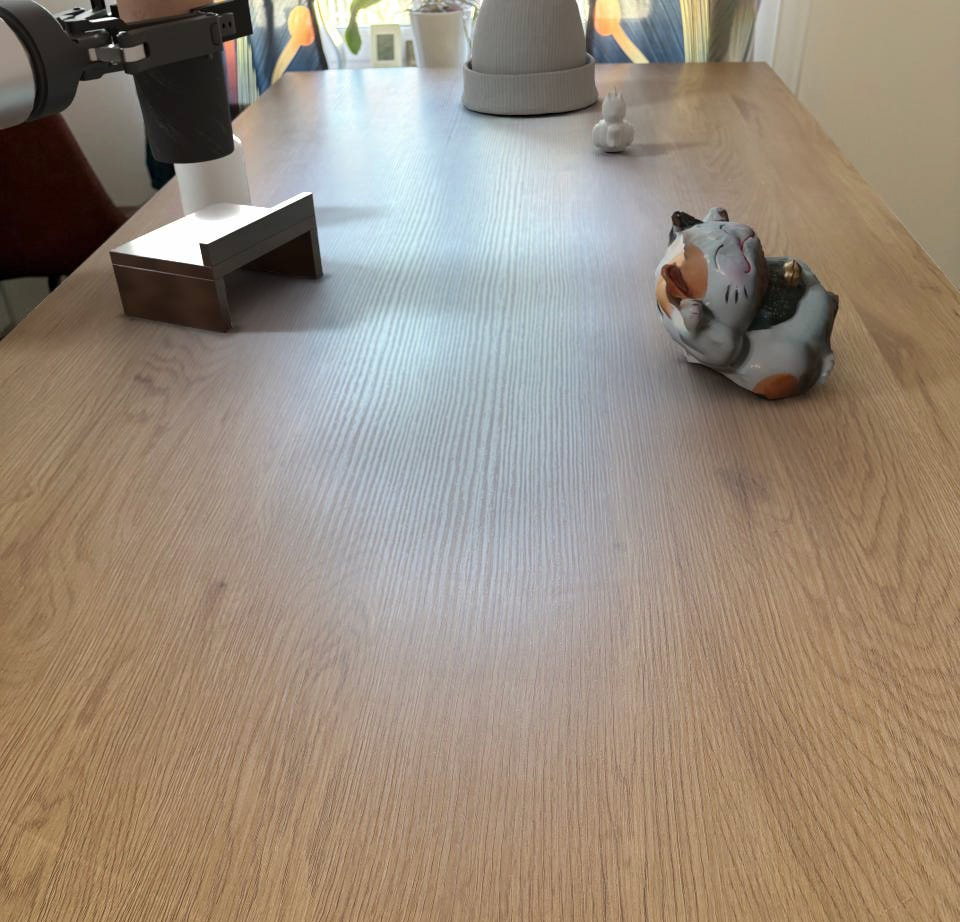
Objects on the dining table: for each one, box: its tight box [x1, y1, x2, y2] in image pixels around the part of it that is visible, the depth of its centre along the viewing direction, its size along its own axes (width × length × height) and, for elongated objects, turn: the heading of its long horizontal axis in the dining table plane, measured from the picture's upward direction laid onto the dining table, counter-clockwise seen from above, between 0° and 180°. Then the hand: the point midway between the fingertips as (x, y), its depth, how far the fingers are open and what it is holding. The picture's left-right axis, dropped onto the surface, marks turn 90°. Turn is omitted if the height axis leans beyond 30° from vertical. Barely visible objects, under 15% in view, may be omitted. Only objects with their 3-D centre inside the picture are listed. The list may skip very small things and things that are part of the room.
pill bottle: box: [173, 134, 253, 218], centre depth 120 cm, size 8×8×11 cm
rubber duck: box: [591, 83, 635, 153], centre depth 139 cm, size 5×7×8 cm
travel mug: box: [115, 0, 234, 165], centre depth 88 cm, size 8×8×20 cm
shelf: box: [108, 191, 324, 334], centre depth 103 cm, size 12×16×8 cm
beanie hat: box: [460, 0, 599, 116], centre depth 163 cm, size 21×21×20 cm
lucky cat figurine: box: [653, 206, 840, 401], centre depth 84 cm, size 15×12×14 cm
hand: (207, 13), depth 91 cm, fingers closed on travel mug, 8 cm apart
